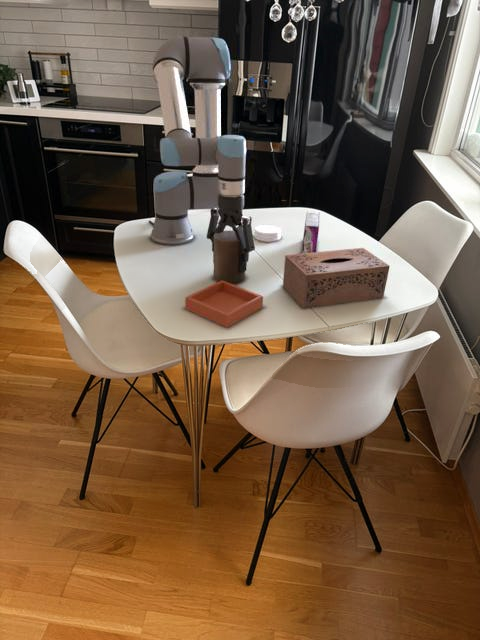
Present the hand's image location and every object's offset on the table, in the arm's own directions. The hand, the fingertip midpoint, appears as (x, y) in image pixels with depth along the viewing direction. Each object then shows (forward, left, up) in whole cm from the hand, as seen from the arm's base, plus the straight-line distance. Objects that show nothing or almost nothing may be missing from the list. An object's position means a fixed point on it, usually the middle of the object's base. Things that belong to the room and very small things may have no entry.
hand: (229, 266), depth 148 cm
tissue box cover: (+29, +13, -4) cm, 32 cm away
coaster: (-13, +37, -4) cm, 39 cm away
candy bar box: (+9, +31, +2) cm, 33 cm away
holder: (+12, -16, -4) cm, 20 cm away
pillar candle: (0, 0, -4) cm, 4 cm away
